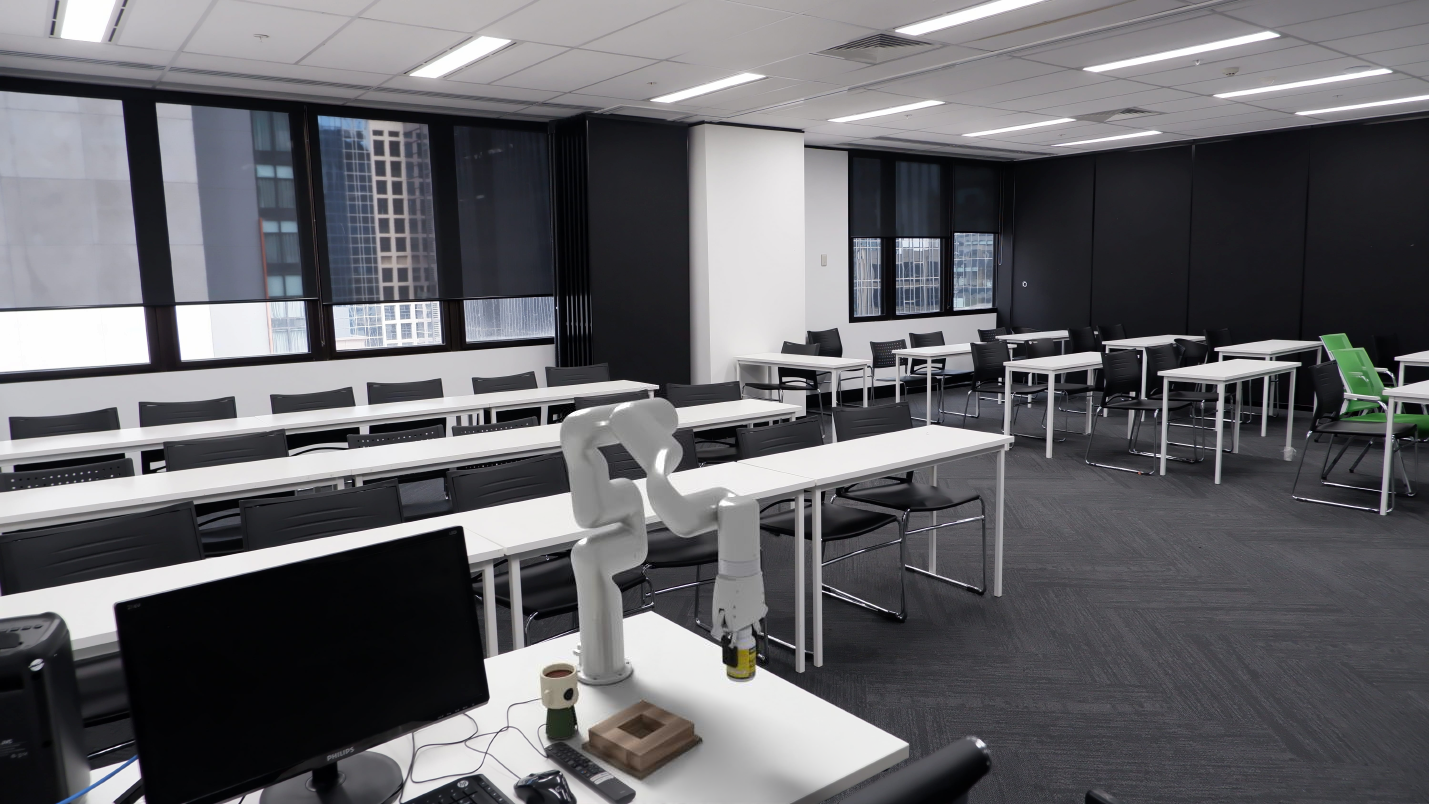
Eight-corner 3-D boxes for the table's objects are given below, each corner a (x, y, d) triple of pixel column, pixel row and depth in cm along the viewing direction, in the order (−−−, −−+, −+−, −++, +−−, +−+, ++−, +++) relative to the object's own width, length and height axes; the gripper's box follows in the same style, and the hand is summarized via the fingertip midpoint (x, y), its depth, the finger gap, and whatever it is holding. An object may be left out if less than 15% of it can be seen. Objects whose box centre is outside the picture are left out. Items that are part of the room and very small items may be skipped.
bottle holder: (581, 748, 161) (580, 729, 160) (643, 713, 172) (642, 696, 172) (640, 780, 150) (639, 760, 149) (702, 741, 162) (701, 722, 161)
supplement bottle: (753, 684, 155) (752, 633, 153) (724, 682, 156) (723, 631, 155) (758, 670, 160) (757, 620, 159) (729, 668, 161) (728, 619, 160)
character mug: (565, 751, 160) (562, 685, 158) (531, 745, 162) (527, 681, 160) (591, 721, 170) (587, 659, 168) (558, 716, 172) (555, 655, 170)
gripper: (752, 548, 164) (754, 638, 166) (691, 573, 151) (694, 670, 154) (784, 556, 159) (785, 648, 162) (724, 583, 146) (726, 683, 149)
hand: (740, 658), depth 158 cm, fingers closed on supplement bottle, 5 cm apart
